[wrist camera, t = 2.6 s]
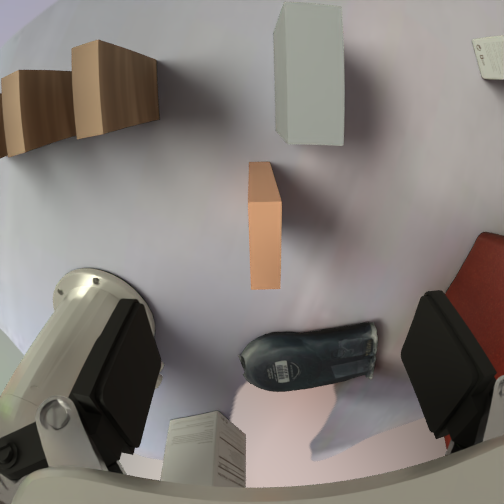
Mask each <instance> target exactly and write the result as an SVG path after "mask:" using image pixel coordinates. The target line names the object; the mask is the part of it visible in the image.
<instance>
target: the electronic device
mask: <svg viewBox="0 0 504 504" xmlns="http://www.w3.org/2000/svg"><path fill="white" fill-rule="evenodd" d="M376 332H377V330H376V328H375V326H374V322H373V323H370V322H368V323H362V324H357V325H352V326H344V327H338V328H331V329H323V330H319V331H312V332H308V333H293V332H283V333H277V332H274V333H269V334H265V335H263V336H261V337H258V338H257V339H255V340H253V341H252V342H251V343H249V344H248V345H247V347H246V348H245V349H244V351H243V353H242V355H241V356H239V355H238V356H239V358H240V361H241V364H242V366H243V368H244V371H245V373H244V374H243V376H244V377H245V379H246V380H247V381H248V382H249V383H250V384H253V385H255V386H256V387H258V388H261V389H264V390H268V391H276V392H283V391H284V392H285V391H292V390H300V389H308V388H314V387H318V386H323V385H329V384H334V383H337V382H342V381H346V380H349V379H352V378H355V377H358V376H362V375H365V376H366V378H367V377H369V379H372V378H373V372H374V365H375V361H376V352H377V344H378V336H377V334H376Z"/></svg>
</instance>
